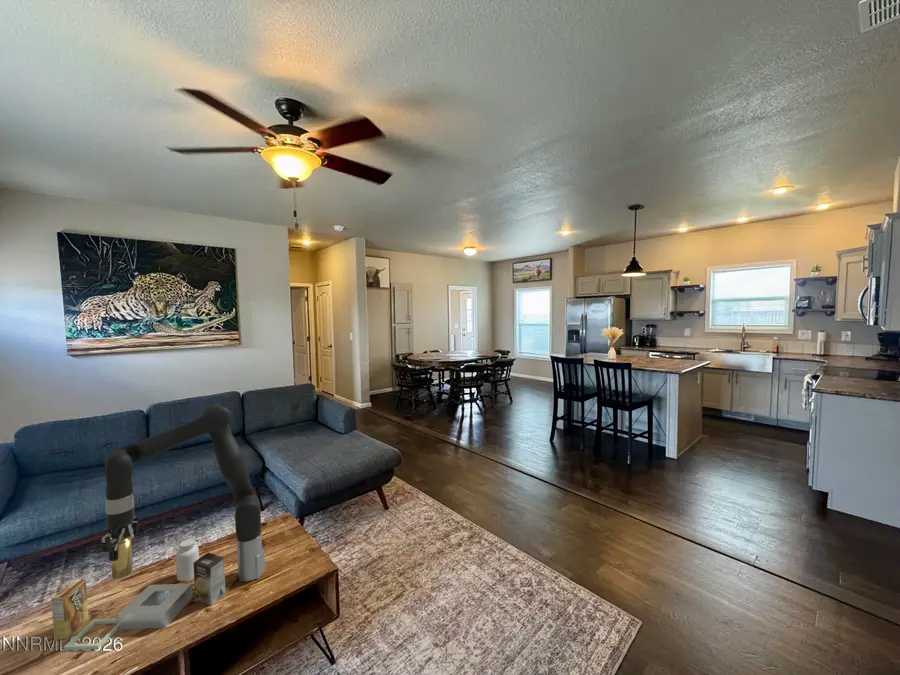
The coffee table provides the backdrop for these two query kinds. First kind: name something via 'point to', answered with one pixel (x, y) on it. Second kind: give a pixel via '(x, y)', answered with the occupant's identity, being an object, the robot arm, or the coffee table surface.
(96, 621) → the tray
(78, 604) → the candy box
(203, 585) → the coffee box
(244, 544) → the robot arm
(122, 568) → the gold shiny round cylinder
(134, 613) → the housing
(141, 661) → the coffee table surface
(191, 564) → the pill bottle
